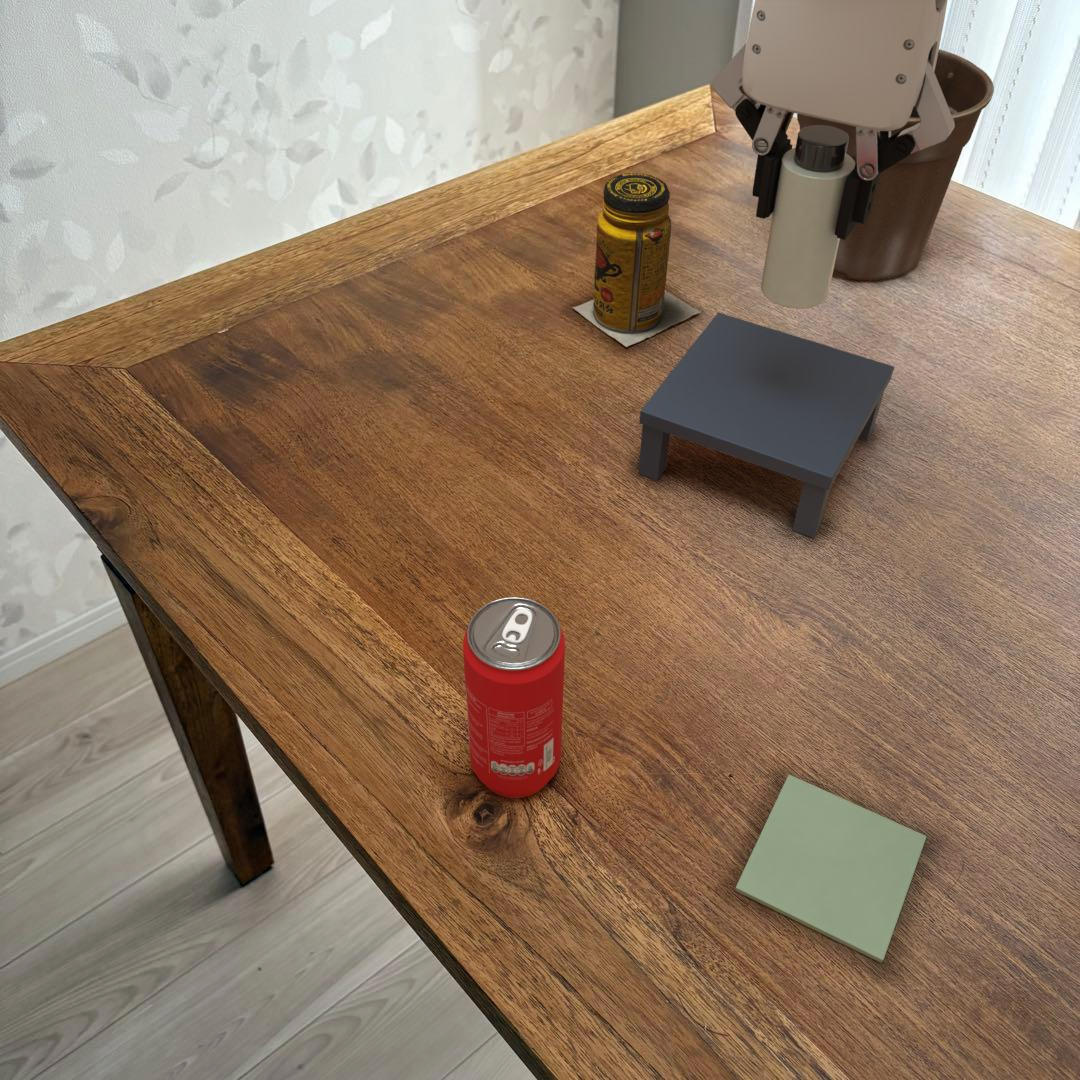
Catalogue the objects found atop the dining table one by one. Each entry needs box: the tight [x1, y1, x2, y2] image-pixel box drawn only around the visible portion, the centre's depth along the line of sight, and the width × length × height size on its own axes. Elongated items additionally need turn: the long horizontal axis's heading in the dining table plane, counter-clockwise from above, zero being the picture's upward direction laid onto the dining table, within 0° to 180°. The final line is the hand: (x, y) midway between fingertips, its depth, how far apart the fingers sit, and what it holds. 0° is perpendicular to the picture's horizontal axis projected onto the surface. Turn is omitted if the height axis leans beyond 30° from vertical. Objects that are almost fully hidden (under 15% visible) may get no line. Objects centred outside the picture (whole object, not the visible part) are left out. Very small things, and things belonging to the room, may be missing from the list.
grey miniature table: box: [637, 312, 895, 539], centre depth 82 cm, size 14×14×6 cm
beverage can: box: [462, 596, 566, 799], centre depth 60 cm, size 5×5×12 cm
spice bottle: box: [760, 125, 855, 310], centre depth 70 cm, size 4×4×11 cm
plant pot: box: [796, 48, 995, 281], centre depth 99 cm, size 16×16×16 cm
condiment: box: [572, 172, 701, 348], centre depth 92 cm, size 7×8×12 cm
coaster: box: [734, 774, 928, 964], centre depth 60 cm, size 8×8×1 cm
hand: (808, 216), depth 69 cm, fingers closed on spice bottle, 4 cm apart
